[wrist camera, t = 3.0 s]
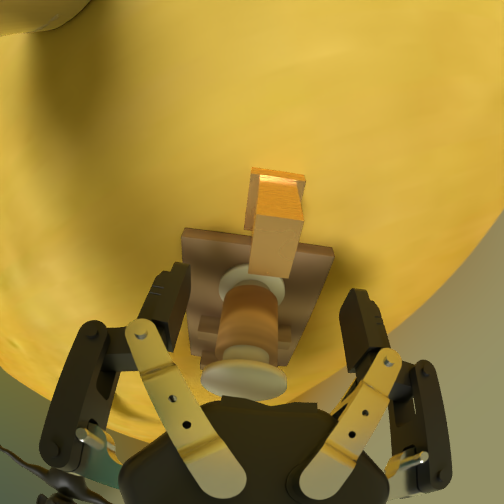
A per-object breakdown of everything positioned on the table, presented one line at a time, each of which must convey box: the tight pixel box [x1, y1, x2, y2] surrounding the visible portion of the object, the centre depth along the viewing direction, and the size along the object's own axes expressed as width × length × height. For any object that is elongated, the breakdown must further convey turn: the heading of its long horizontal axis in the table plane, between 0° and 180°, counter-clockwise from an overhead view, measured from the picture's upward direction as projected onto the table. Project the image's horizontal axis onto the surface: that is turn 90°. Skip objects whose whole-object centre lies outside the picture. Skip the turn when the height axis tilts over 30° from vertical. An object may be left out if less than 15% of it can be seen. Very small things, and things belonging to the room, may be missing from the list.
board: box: [181, 228, 335, 401], centre depth 23 cm, size 18×12×10 cm, turn 173°
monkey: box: [0, 445, 112, 504], centre depth 36 cm, size 40×20×40 cm, turn 67°
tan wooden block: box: [244, 167, 306, 278], centre depth 17 cm, size 4×4×6 cm
